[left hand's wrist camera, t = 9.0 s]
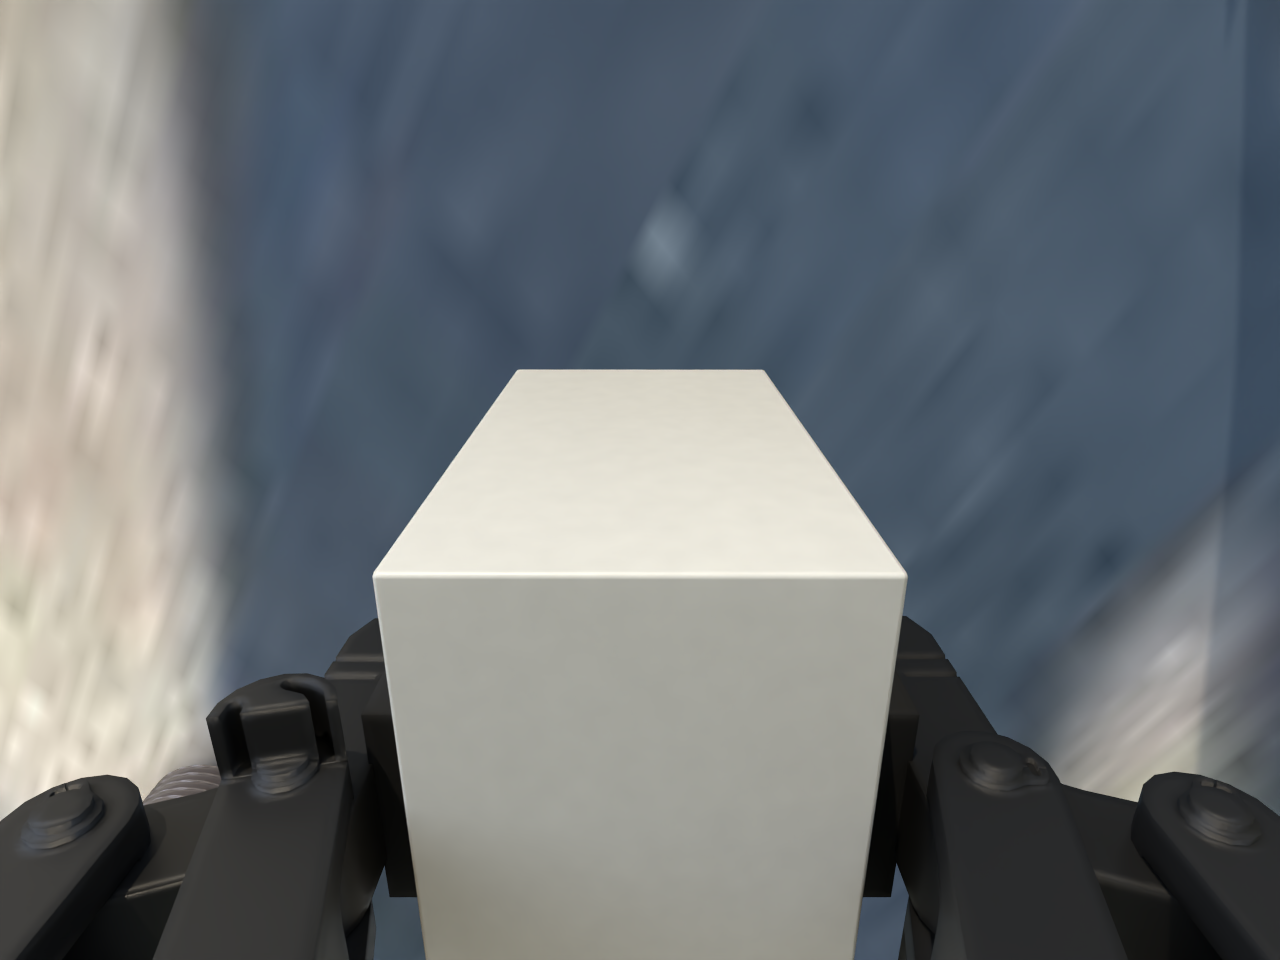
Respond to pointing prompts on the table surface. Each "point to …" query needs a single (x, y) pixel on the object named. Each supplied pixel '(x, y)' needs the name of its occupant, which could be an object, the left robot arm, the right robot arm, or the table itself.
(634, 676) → the bar
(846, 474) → the table surface
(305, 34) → the table surface
